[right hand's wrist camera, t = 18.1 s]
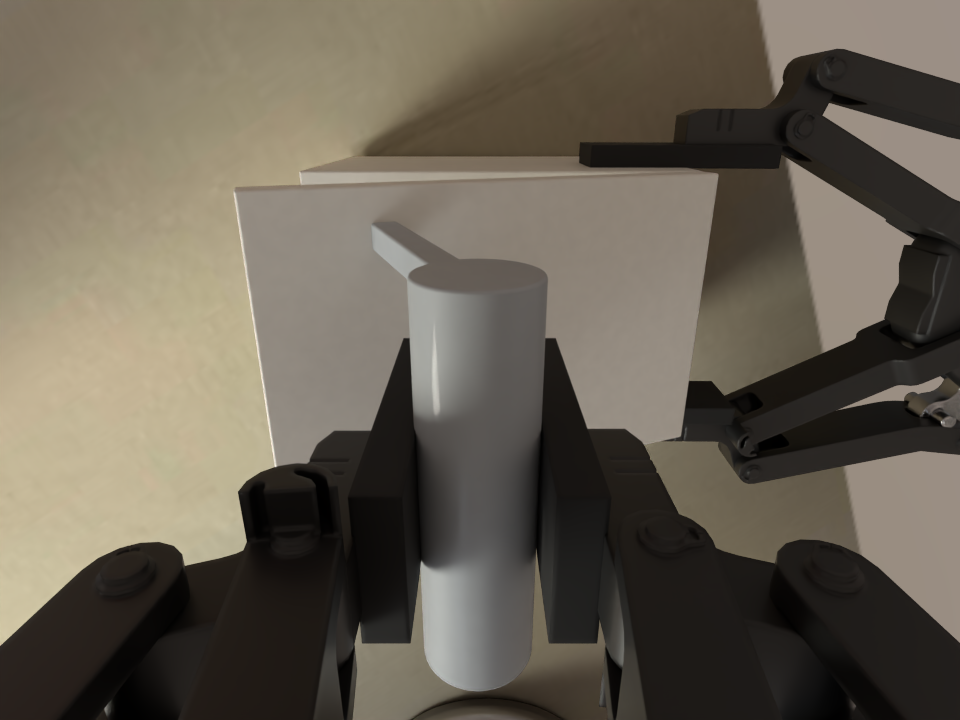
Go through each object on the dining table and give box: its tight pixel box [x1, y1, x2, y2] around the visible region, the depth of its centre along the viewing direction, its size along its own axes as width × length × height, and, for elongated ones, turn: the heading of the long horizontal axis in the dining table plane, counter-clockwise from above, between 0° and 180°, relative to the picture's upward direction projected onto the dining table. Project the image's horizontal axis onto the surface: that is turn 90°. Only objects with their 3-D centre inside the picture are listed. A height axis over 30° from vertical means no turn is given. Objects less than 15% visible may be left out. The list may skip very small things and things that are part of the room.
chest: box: [300, 156, 703, 185], centre depth 25 cm, size 13×9×9 cm
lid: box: [234, 171, 719, 691], centre depth 15 cm, size 14×9×9 cm, turn 90°
